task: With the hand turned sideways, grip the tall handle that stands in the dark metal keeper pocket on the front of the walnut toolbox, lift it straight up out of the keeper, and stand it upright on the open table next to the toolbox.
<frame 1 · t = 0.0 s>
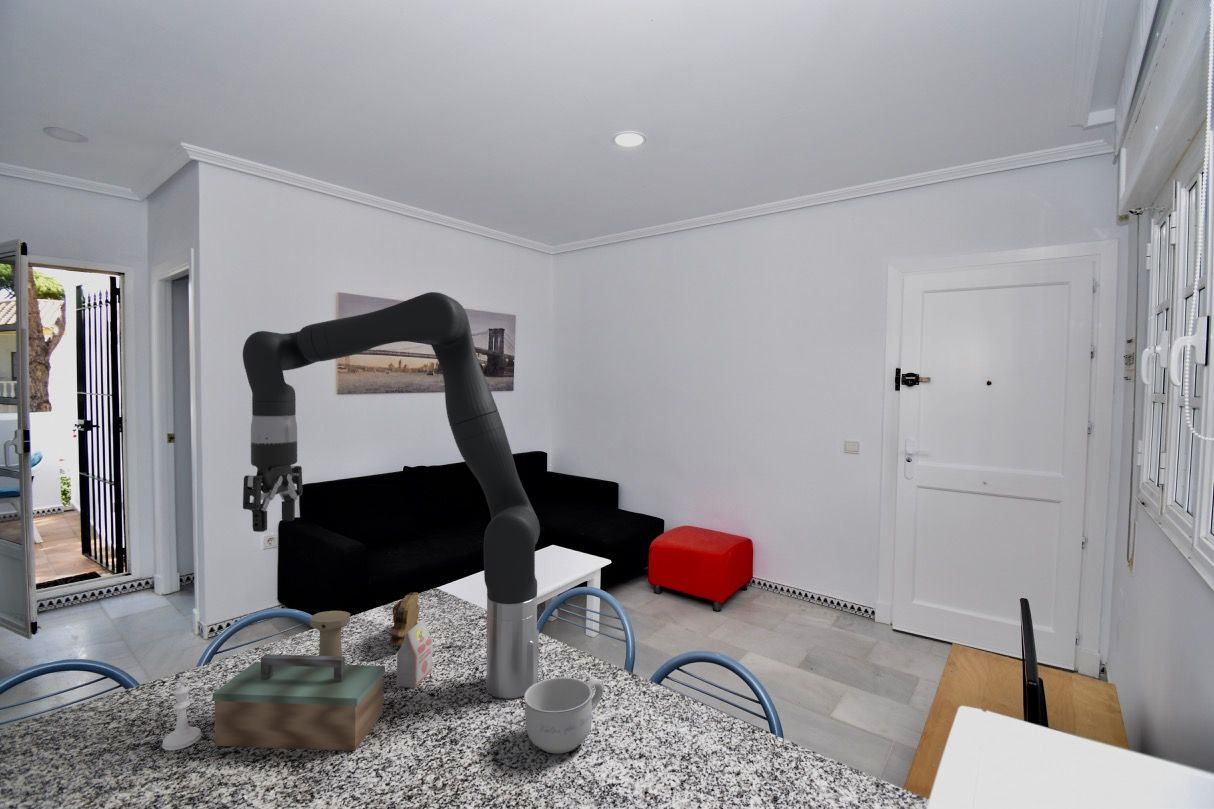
hand: (274, 525, 106), 29 cm above the countertop, tool pointing down, fingers open, 8 cm apart
handle: (330, 700, 101), resting in toolbox
milk carton: (415, 678, 109), on the countertop
toolbox: (303, 728, 92), on the countertop
chess piece: (182, 741, 89), on the countertop
teacup: (566, 739, 91), on the countertop
wooden carving: (404, 642, 124), on the countertop
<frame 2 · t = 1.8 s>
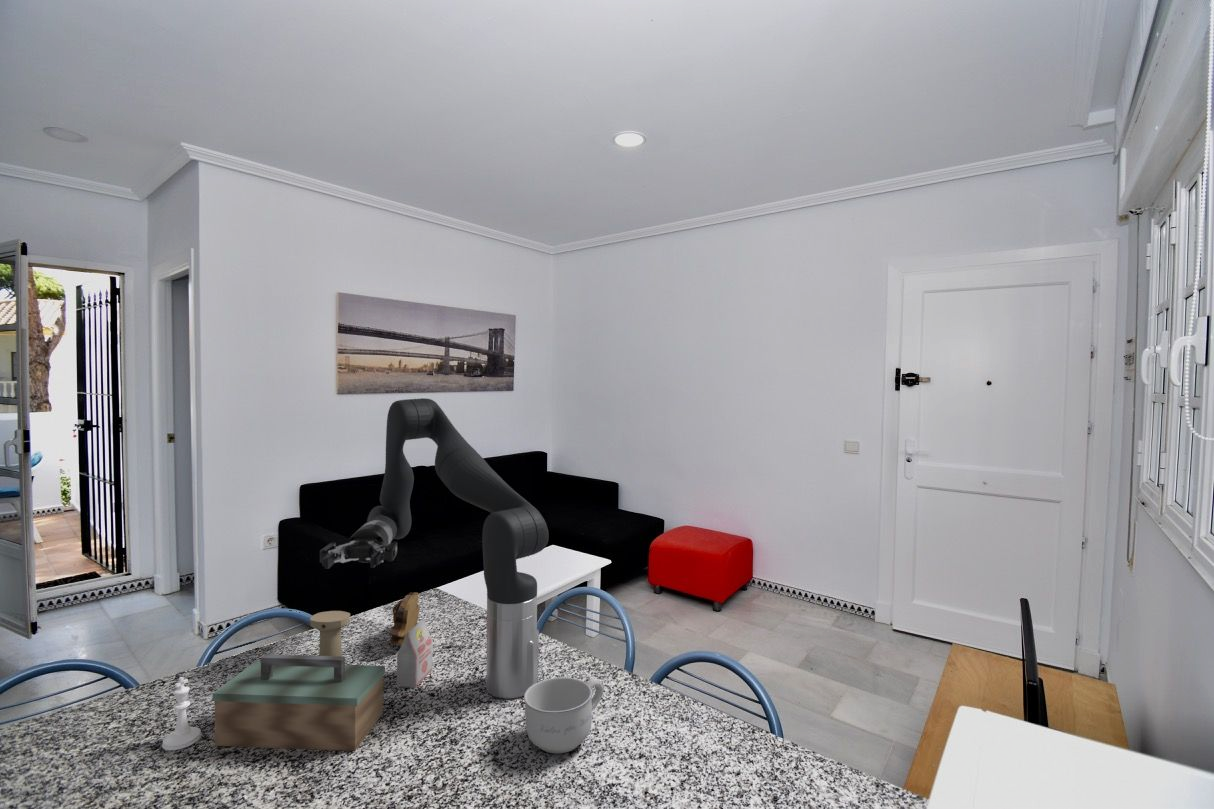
hand: (349, 563, 111), 21 cm above the countertop, tool horizontal, fingers open, 8 cm apart
nothing on the countertop moved.
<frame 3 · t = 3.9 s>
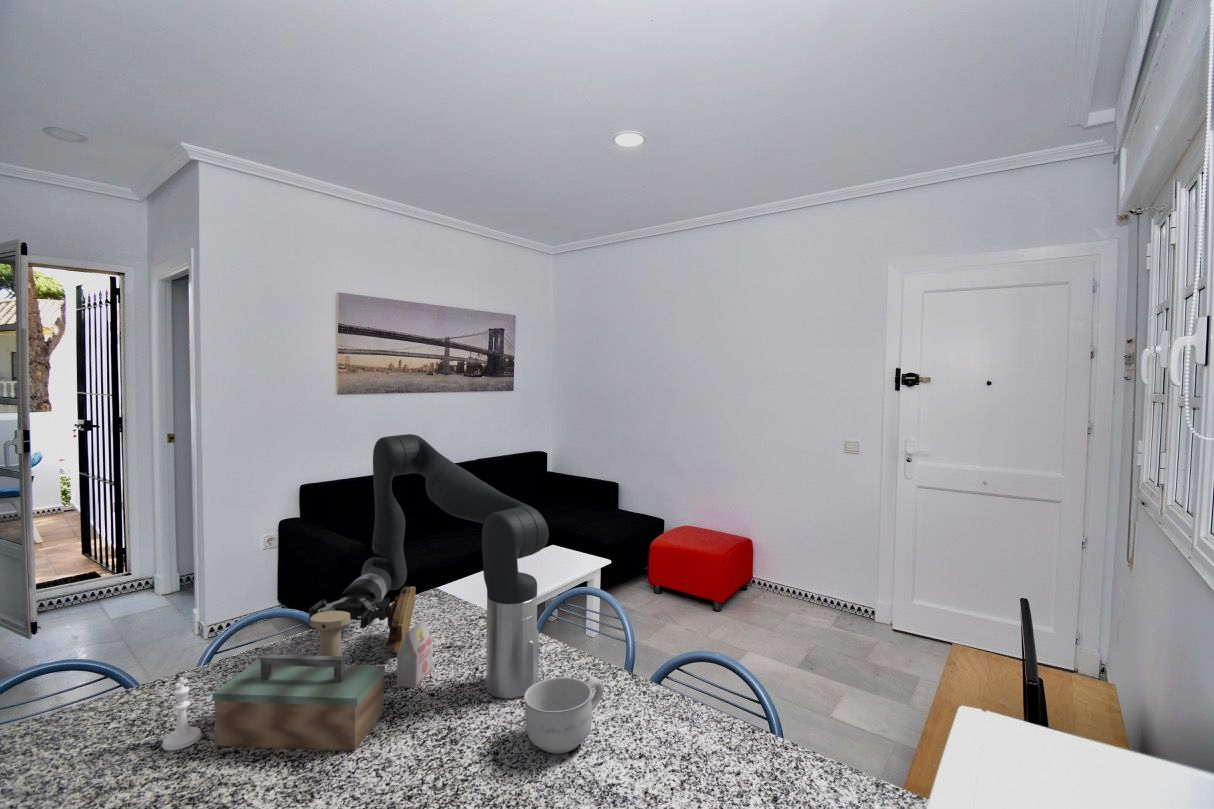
hand: (338, 623, 107), 11 cm above the countertop, tool horizontal, fingers open, 8 cm apart
wooden carving: (403, 632, 123), point 2 cm above the countertop, touching hand
everything else where it was.
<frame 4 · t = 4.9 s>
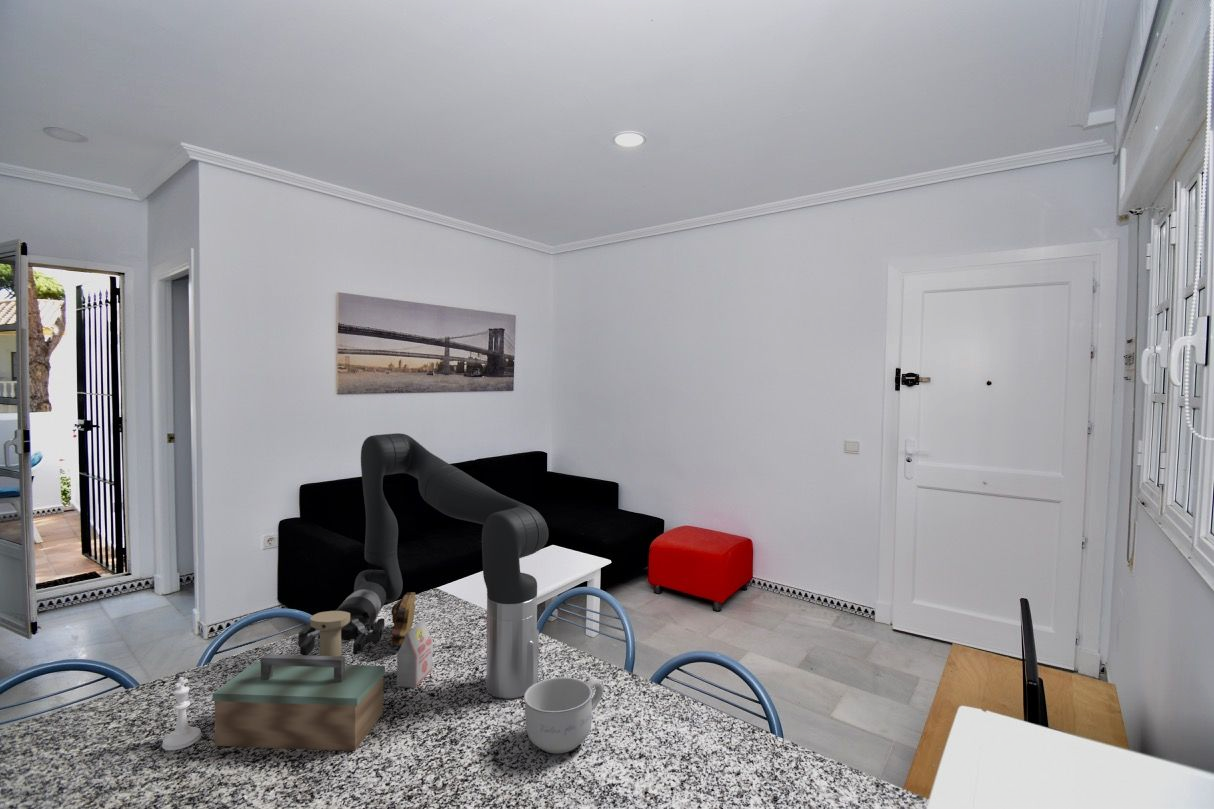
hand: (329, 650, 100), 9 cm above the countertop, tool horizontal, fingers open, 8 cm apart
wooden carving: (402, 642, 124), on the countertop
everything else where it was.
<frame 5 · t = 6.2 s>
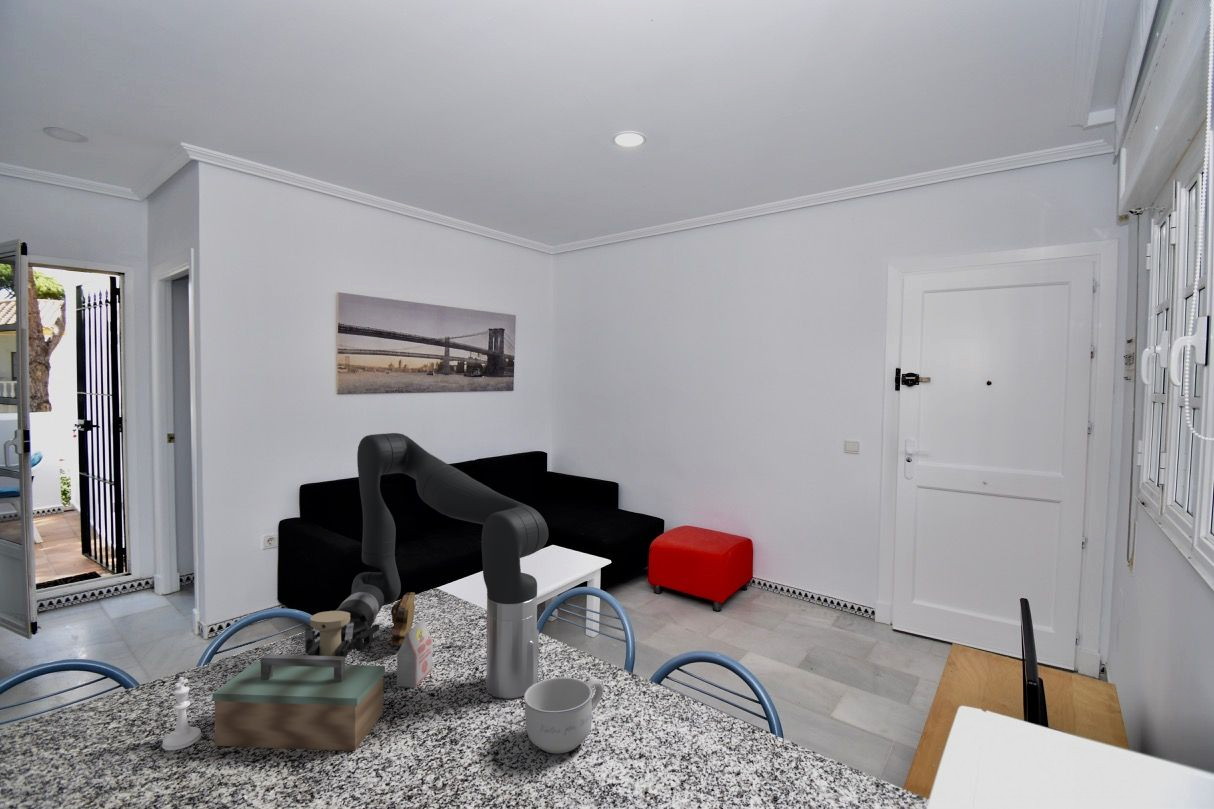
hand: (325, 657, 97), 9 cm above the countertop, tool horizontal, fingers closed on handle, 3 cm apart
handle: (330, 700, 101), resting in toolbox, touching gripper
everything else where it was.
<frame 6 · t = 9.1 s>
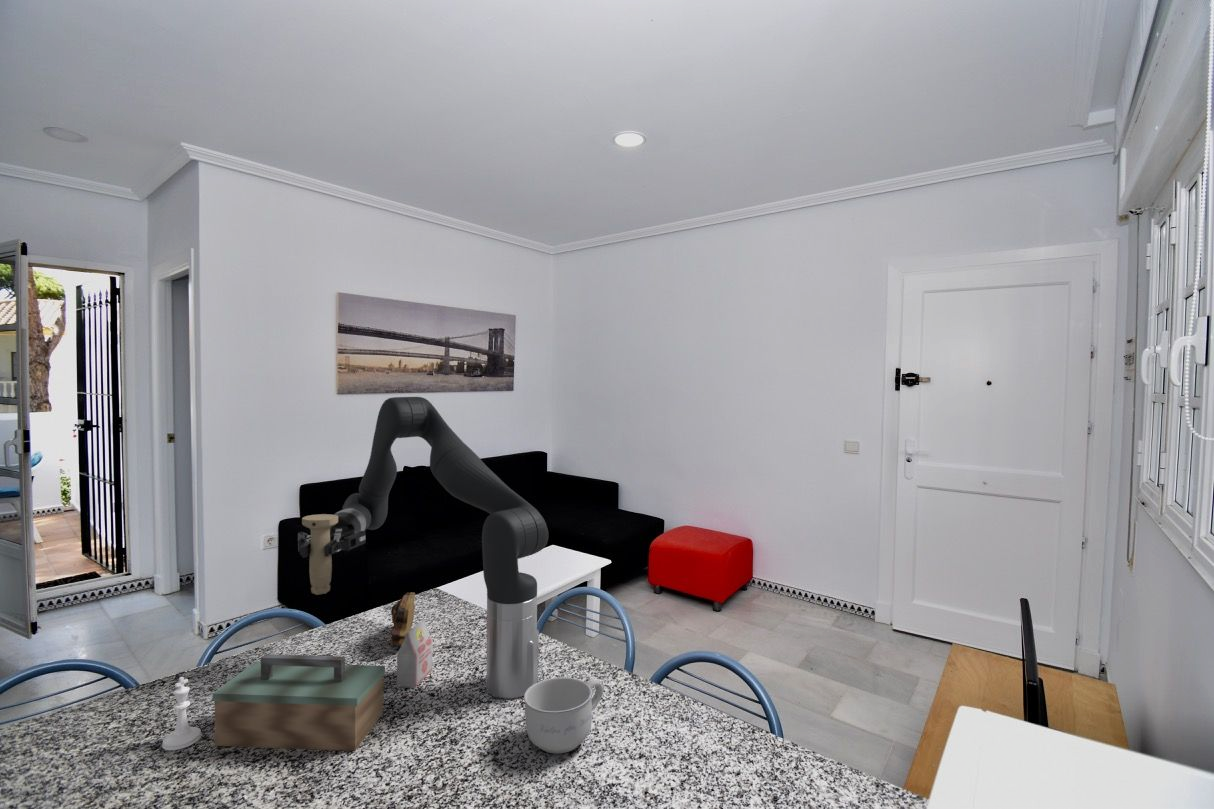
hand: (315, 551, 109), 24 cm above the countertop, tool horizontal, fingers closed on handle, 3 cm apart
handle: (320, 593, 112), point 15 cm above the countertop, touching gripper
everything else where it was.
when the fingers open (10 cm above the countertop, at t = 11.9 s): handle drops 1 cm, on the countertop.
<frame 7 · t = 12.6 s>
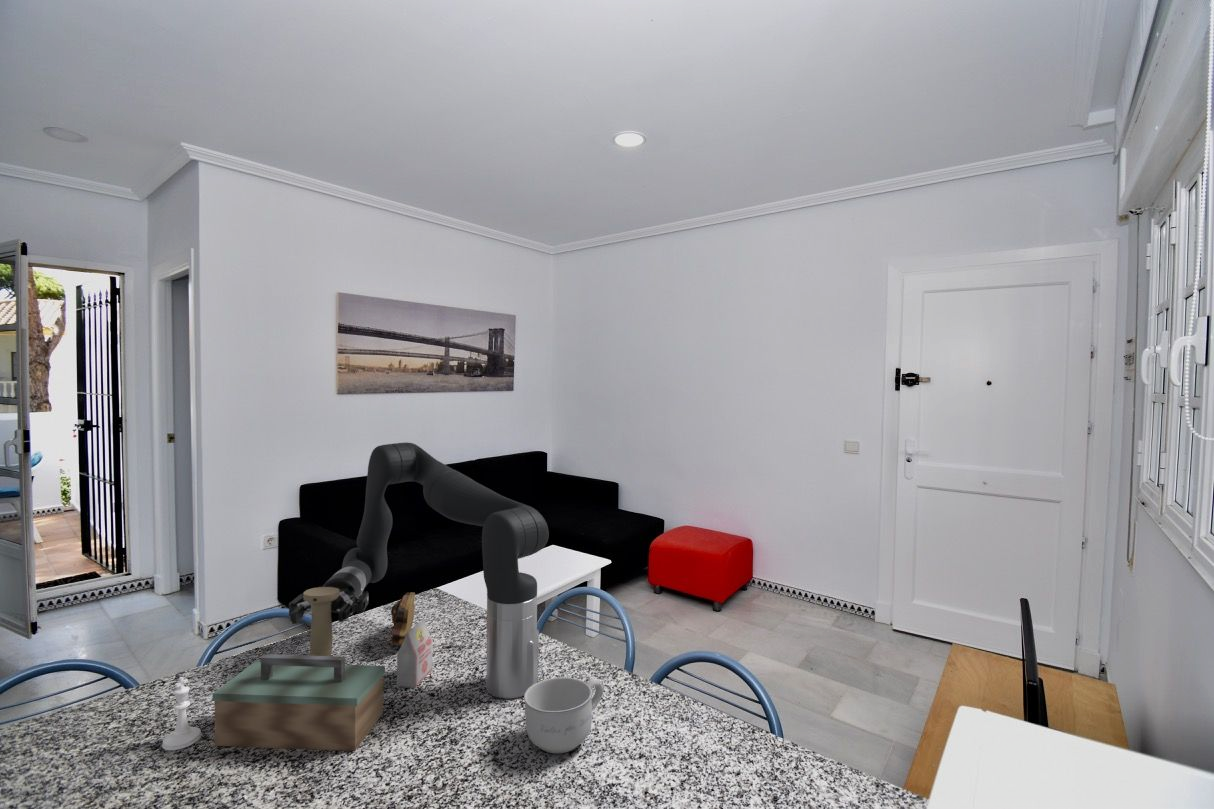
hand: (317, 617, 110), 11 cm above the countertop, tool horizontal, fingers open, 8 cm apart
handle: (321, 667, 112), on the countertop
everything else where it was.
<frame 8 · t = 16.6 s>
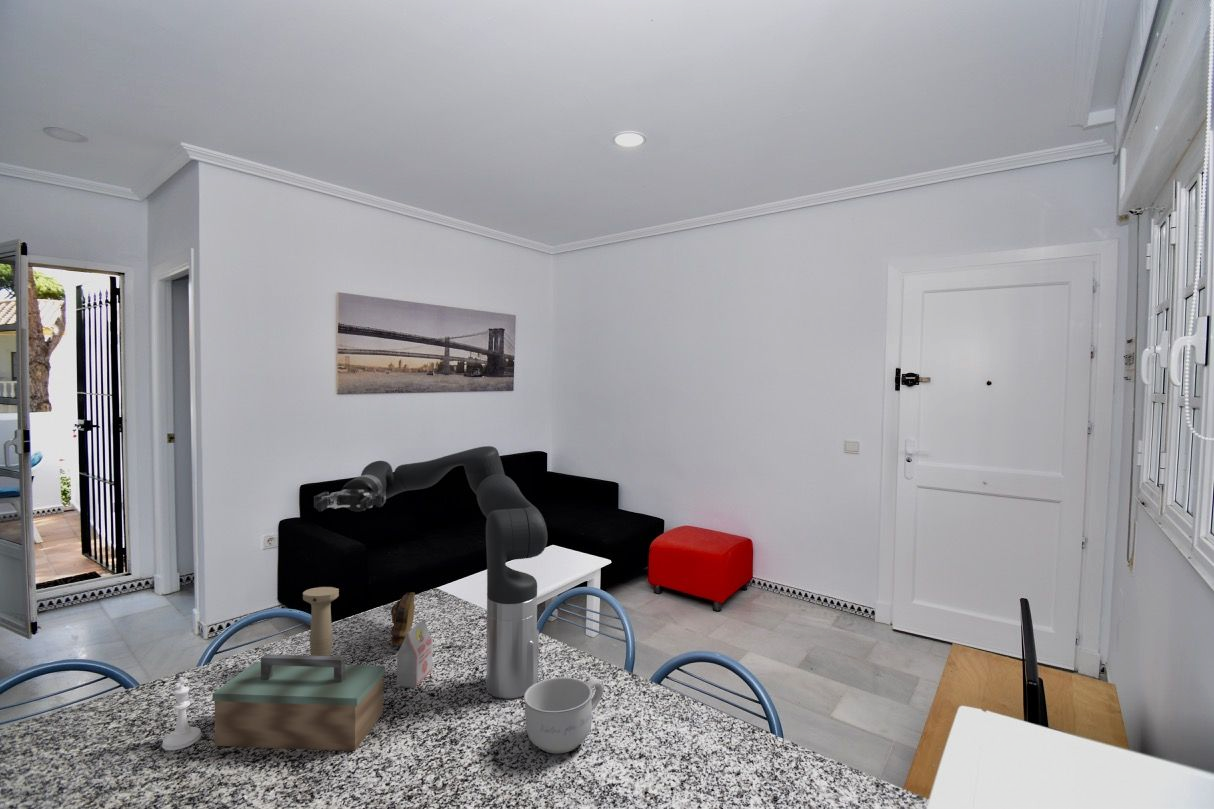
hand: (340, 506, 120), 30 cm above the countertop, tool horizontal, fingers open, 8 cm apart
nothing on the countertop moved.
at the end: handle inside the target area (0.1 cm from its centre), on the countertop; handle tilted 0°; the gripper is holding nothing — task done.
